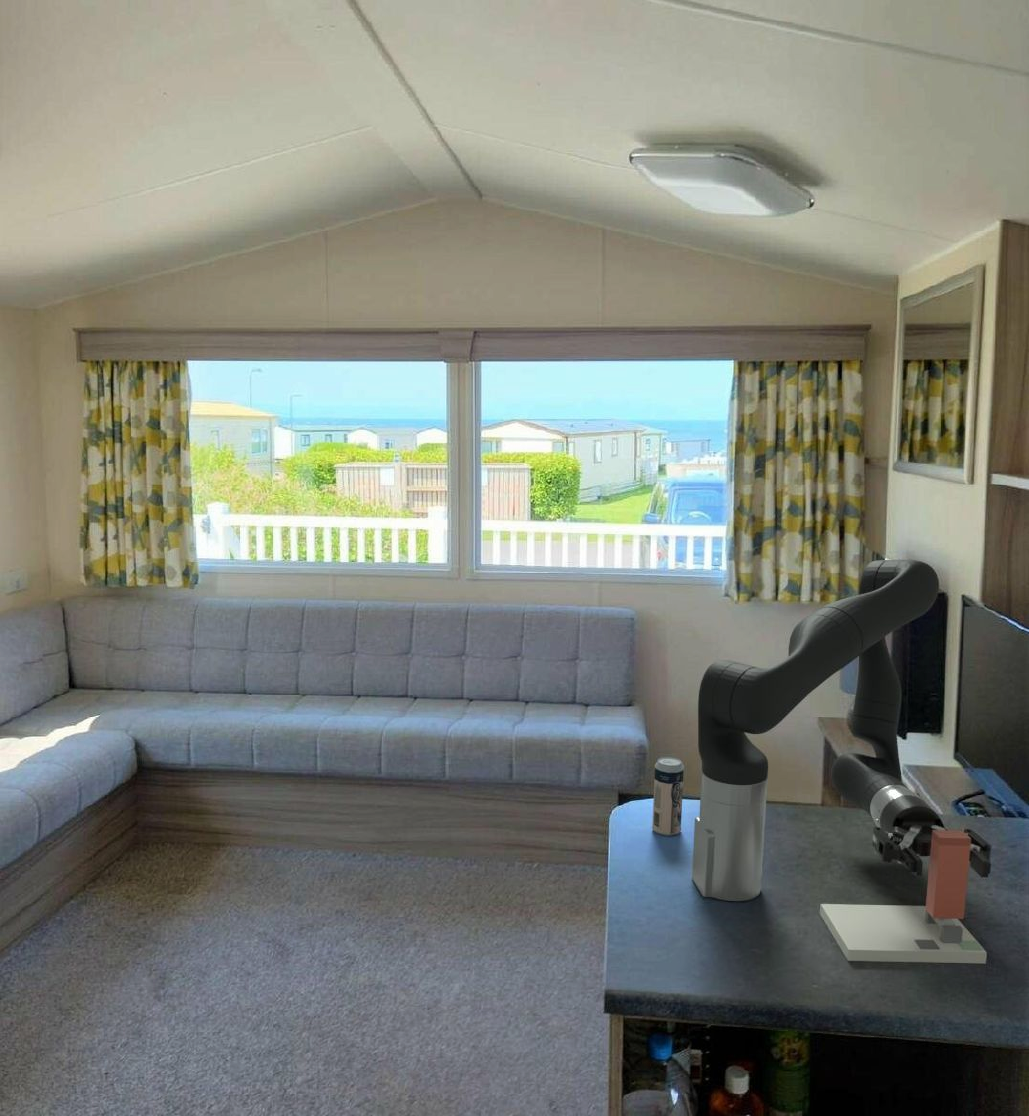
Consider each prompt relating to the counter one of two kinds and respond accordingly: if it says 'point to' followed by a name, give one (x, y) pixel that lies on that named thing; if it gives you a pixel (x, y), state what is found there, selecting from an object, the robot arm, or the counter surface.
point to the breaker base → (898, 935)
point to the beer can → (668, 796)
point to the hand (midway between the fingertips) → (953, 870)
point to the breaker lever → (948, 876)
